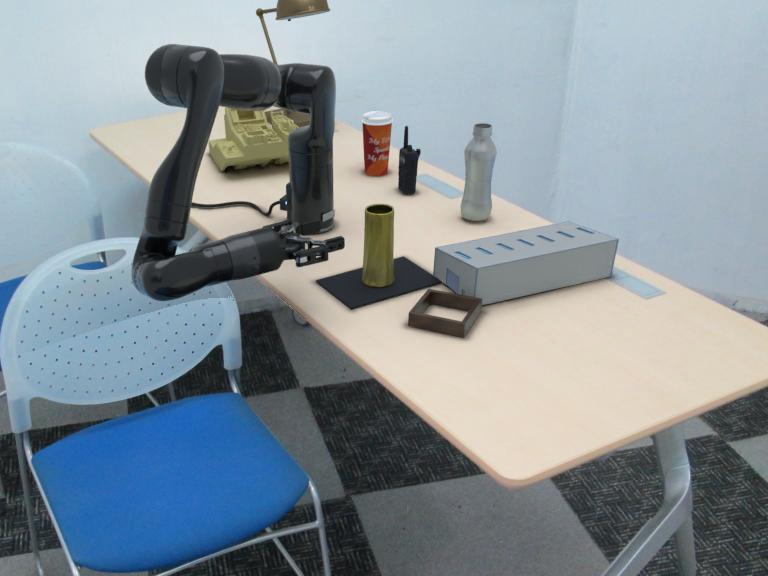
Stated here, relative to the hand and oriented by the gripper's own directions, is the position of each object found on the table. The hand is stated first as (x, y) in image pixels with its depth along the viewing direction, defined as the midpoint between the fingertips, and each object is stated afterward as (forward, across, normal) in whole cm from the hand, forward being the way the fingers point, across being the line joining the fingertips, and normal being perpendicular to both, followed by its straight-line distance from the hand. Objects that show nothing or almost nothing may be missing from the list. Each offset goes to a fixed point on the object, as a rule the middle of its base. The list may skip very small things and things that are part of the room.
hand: (331, 233), depth 151 cm
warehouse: (+34, -12, +12) cm, 38 cm away
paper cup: (+42, +51, +13) cm, 67 cm away
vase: (+10, 0, +12) cm, 16 cm away
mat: (+10, 0, +12) cm, 16 cm away
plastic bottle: (+44, +15, +13) cm, 48 cm away
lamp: (+46, +104, +13) cm, 115 cm away
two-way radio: (+42, +36, +13) cm, 57 cm away
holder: (+12, -18, +12) cm, 25 cm away
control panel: (+20, +74, +13) cm, 78 cm away
